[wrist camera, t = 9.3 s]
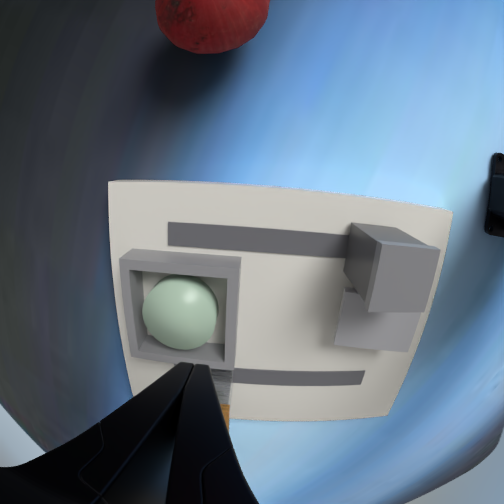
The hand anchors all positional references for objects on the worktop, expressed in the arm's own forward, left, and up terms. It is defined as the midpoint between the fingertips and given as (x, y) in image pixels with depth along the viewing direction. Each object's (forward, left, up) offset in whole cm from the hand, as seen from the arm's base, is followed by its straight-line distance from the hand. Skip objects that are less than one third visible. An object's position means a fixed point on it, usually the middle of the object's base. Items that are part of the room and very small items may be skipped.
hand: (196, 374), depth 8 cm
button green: (+3, +3, -10) cm, 10 cm away
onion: (+2, -14, -12) cm, 19 cm away
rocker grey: (-9, +3, -9) cm, 13 cm away
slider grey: (-8, -1, -10) cm, 13 cm away
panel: (-3, +5, -12) cm, 13 cm away
